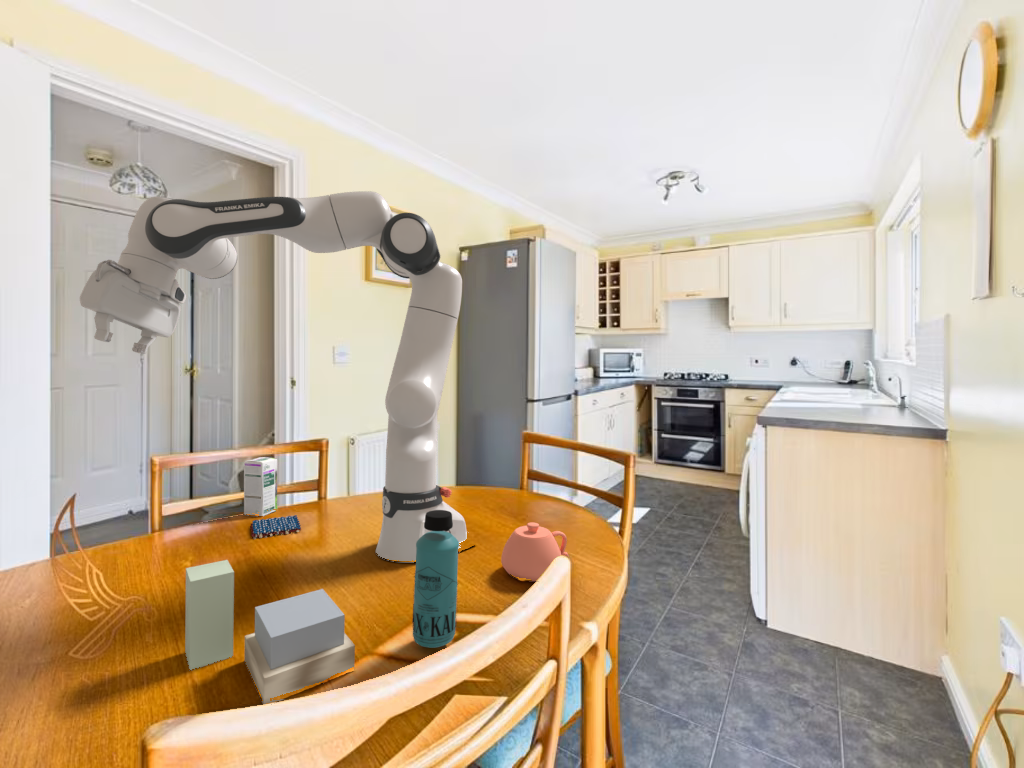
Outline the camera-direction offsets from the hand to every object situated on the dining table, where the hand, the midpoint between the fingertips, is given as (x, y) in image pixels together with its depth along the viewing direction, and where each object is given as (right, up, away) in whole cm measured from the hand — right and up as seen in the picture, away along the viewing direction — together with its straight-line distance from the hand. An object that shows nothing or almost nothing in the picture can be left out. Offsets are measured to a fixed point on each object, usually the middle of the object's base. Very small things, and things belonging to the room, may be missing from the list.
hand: (121, 347), depth 88 cm
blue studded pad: (+16, -43, +26) cm, 53 cm away
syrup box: (+6, -42, +38) cm, 56 cm away
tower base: (+44, -46, -24) cm, 68 cm away
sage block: (+31, -45, -22) cm, 59 cm away
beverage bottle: (+62, -46, -18) cm, 79 cm away
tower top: (+44, -42, -24) cm, 65 cm away
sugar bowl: (+78, -45, +7) cm, 90 cm away
